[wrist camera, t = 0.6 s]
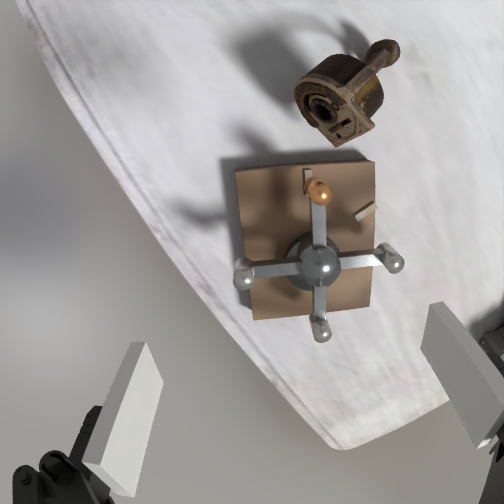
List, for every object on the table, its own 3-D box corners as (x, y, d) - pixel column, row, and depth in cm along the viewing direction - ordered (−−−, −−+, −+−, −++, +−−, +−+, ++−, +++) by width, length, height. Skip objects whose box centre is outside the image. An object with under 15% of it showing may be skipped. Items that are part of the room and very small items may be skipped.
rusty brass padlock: (273, 113, 29) (284, 109, 20) (333, 18, 25) (364, -17, 15) (334, 149, 30) (368, 162, 21) (389, 56, 26) (438, 38, 17)
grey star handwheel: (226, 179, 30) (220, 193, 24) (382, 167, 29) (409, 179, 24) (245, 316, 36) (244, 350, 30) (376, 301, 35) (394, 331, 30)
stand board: (235, 169, 31) (234, 172, 29) (369, 159, 31) (377, 162, 29) (253, 310, 38) (253, 321, 36) (365, 297, 37) (371, 307, 35)
